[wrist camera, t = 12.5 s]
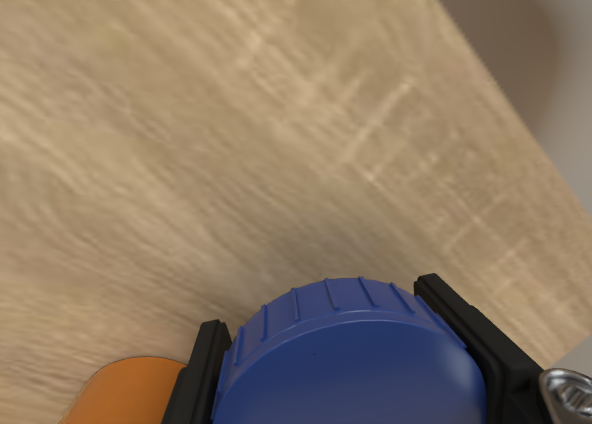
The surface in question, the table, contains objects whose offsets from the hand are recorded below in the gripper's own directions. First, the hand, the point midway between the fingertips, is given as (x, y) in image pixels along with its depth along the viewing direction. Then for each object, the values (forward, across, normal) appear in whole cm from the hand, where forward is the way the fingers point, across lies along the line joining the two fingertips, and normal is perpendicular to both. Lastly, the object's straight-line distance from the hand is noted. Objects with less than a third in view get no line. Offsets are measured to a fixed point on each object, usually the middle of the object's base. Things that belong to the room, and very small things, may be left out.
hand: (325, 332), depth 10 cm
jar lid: (-3, 0, 0) cm, 3 cm away
